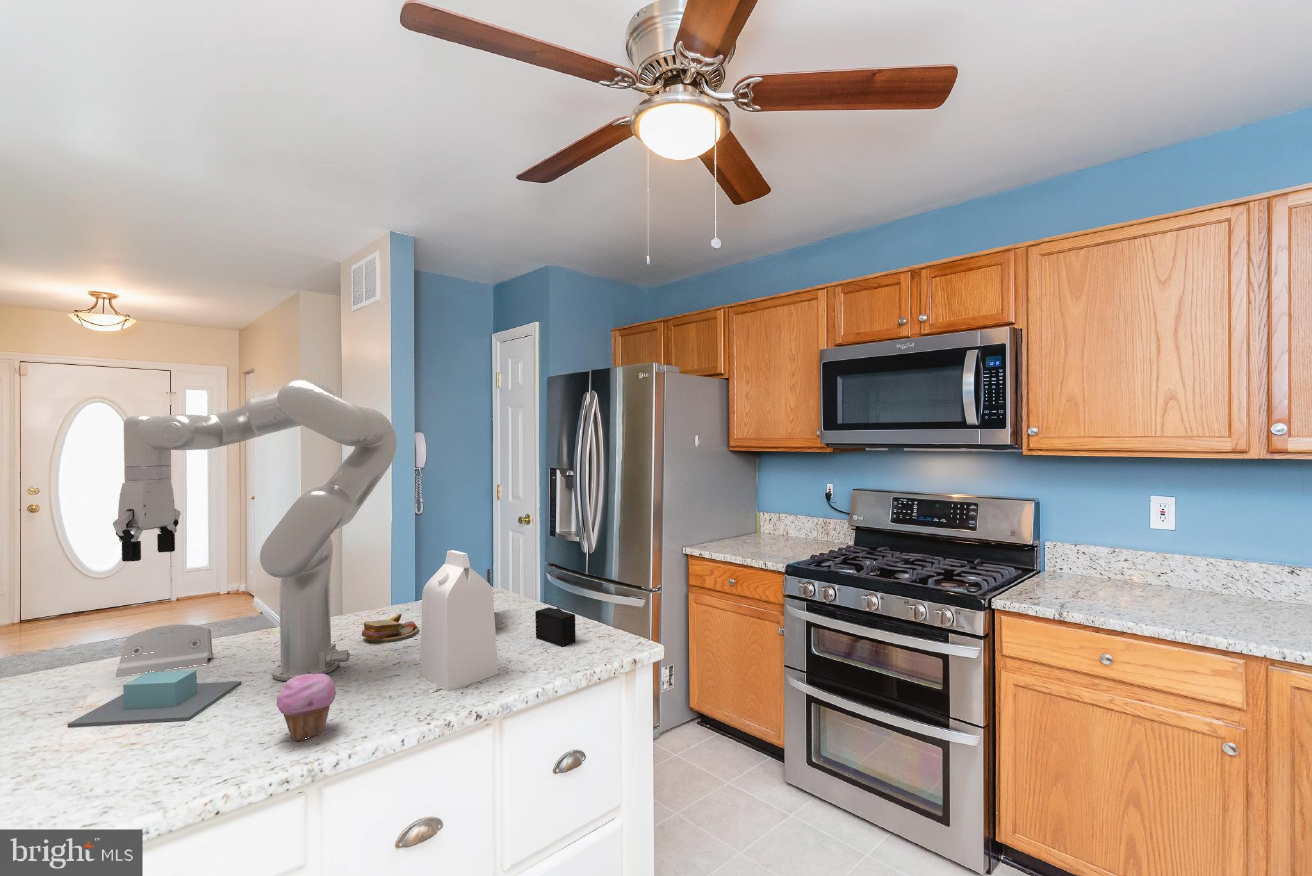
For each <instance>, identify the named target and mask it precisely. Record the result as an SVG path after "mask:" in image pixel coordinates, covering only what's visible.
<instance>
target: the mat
mask: <svg viewBox="0 0 1312 876" xmlns="http://www.w3.org/2000/svg"><path fill="white" fill-rule="evenodd" d="M241 683H242V680H239V681H220V682H219V681H218V682H200V683H197V693H196V694H194V695H193V696H191V697H190V698H188V699H186V700H185V701H183V702H182V703H180V704H178V705H177V706H173V707H154V708H135V709H124V696H123V694H120V695H119V696H117V697H114V698H113V699H111V700H109V701H108V702H105V703H104V704H102V705H100V706H98V707H96V708H95V709H93V710H91V711H89V712H87V713H86V714H83V715H81V716H80V717H78V718H75V719H74V720H72V721H71V722H69V723H67V728H77V727H78V728H79V727H95V726H112V725H113V726H114V725H116V726H117V725H130V724H131V725H132V724H144V723H145V724H147V723H148V722H149V723H150V722H151V723H165V722H166V723H167V722H183V721H184V722H185V721H186V722H187V721H190V720H193V718H194V717H196V716H197V715H199V714H200V713H202V712H203V711H205V710H206V709H207V708H210V706H212V705H213V704H215V703H216V702H218V701H219V700H221V699H222V698H223V697H225V696H226V695H228V694H229V693H230V692H232V691H234V690H235V689H237V688H238V687H240V686H241V685H242V684H241ZM236 687H237V688H236ZM233 689H234V690H233Z"/></svg>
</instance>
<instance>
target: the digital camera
mask: <svg viewBox="0 0 1312 876" xmlns="http://www.w3.org/2000/svg"><path fill="white" fill-rule="evenodd" d="M535 638H536V639H537V640H540V641H543V642H546V643H549V644H551V645H554V646H557V647H561V648H564V647H567V646H569V645H572V644H573V645H574V644H575V643H576V639H577V638H576V614H574V613H571V612H568V611H567V612H566V611H563V609H561V608H559V607H556V608H554V607H549V606H548V607H545V608H542V609H537V610H535Z"/></svg>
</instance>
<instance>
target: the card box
mask: <svg viewBox="0 0 1312 876" xmlns="http://www.w3.org/2000/svg"><path fill="white" fill-rule="evenodd" d="M197 674H198V673H197V669H194V670H193V669H190V670H166V671H159V672H147V673H144V674H141V675H140V676H137V677H136V678H133V679H132V680H130V681H128V682H127V683H124V684H122V685H123V687H122V688H123V689H122V690H123V691H122V692H123V696H124V709H135V708H154V707H173V706H177V705H178V704H180V703H182V702H183V701H185V700H186V699H188V698H190V697H191V696H193V695H194V694H196V693H197V681H198V676H197Z"/></svg>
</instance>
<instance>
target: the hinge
mask: <svg viewBox="0 0 1312 876" xmlns="http://www.w3.org/2000/svg"><path fill="white" fill-rule="evenodd" d="M212 641H213V640H212V630H211V628H209V627H208V626H205V625H198V624H193V623H192V624H191V623H190V624H189V623H175V624H166V625H160V626H155V627H151V628H147V629H145V630H142V631H138V632H137V633H133V634H131V635H129V636H128V637H126V638H125V642H124V645H123V650H122V653H121V656H120V659H119V664H118V666H117V668H116V673H115V678H121V677H122V678H123V677H128V676H129V675H130V676H133V675H132V674H137V675H139V674H138V673H144V674H145V672H150V671H151V672H152V671H159V672H164V671H163V670H166V669H174V668H179V667H188V668H190V667H189V666H193V665H202V664H207V665H208V660H210V659H209V658H211V659H214V653H213V652H214V651H213V643H212ZM150 652H154V653H150ZM143 653H147V654H143ZM132 655H134V656H132ZM125 656H127V657H125ZM174 670H175V669H174ZM166 671H167V670H166Z"/></svg>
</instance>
